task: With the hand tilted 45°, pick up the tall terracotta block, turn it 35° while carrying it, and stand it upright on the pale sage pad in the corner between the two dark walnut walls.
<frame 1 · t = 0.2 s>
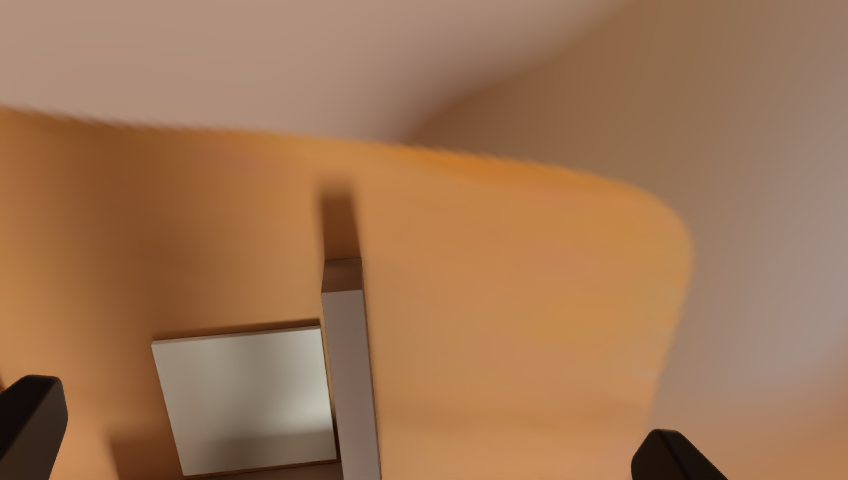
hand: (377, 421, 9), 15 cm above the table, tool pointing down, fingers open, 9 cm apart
corner bracket: (250, 401, 27), on the table
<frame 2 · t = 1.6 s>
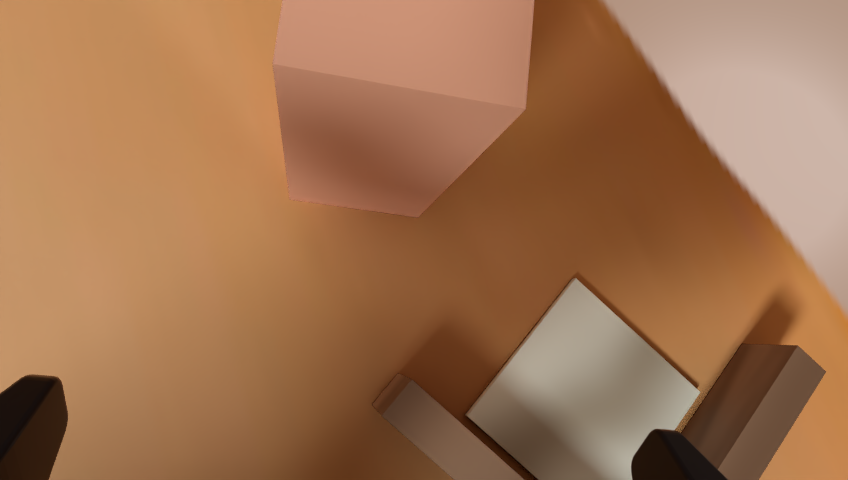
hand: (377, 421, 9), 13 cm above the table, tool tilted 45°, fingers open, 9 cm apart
terracotta block: (362, 147, 24), on the table
corner bracket: (585, 402, 24), on the table
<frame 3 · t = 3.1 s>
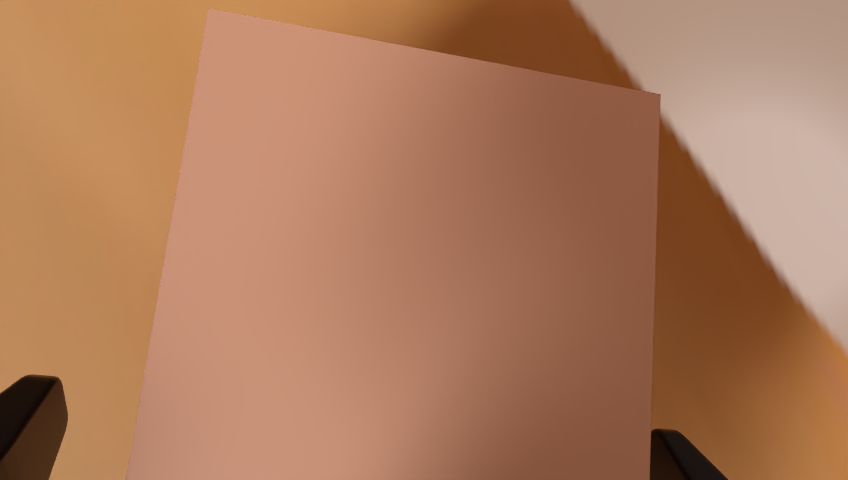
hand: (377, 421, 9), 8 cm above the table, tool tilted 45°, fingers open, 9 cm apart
terracotta block: (343, 319, 18), on the table
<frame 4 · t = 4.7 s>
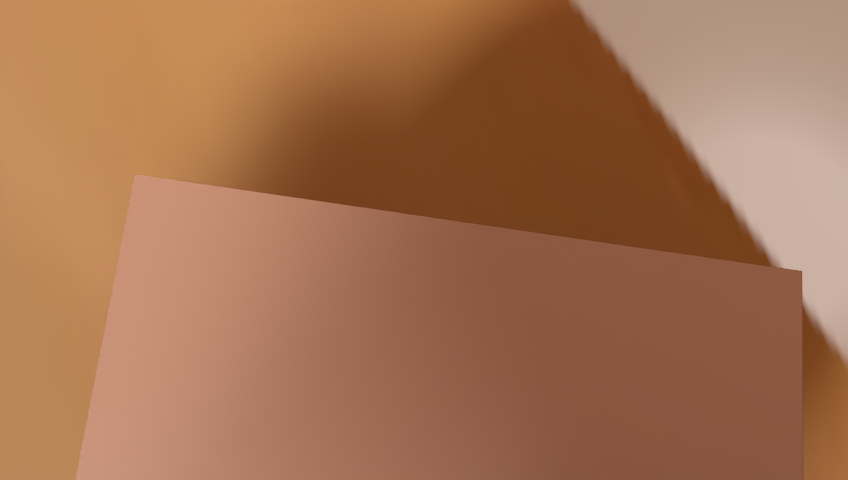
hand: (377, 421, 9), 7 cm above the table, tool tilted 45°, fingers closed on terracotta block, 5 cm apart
terracotta block: (344, 401, 16), on the table, touching gripper
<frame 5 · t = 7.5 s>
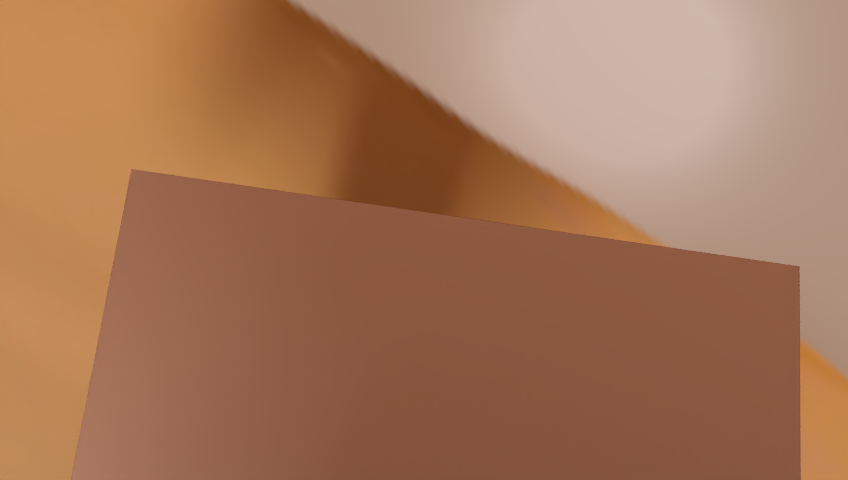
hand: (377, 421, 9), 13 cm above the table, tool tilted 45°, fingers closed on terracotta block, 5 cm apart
terracotta block: (344, 399, 16), point 7 cm above the table, touching gripper
when the fingers open (8 cm above the table, at t = 10.2 s): terracotta block drops 1 cm, resting on corner bracket.
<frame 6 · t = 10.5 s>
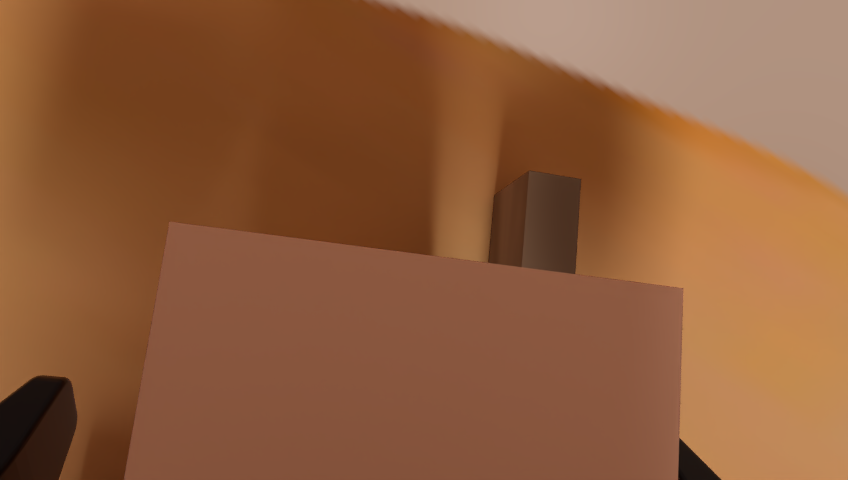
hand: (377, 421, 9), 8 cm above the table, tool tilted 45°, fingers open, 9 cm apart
terracotta block: (338, 396, 17), resting on corner bracket
corner bracket: (342, 393, 17), on the table
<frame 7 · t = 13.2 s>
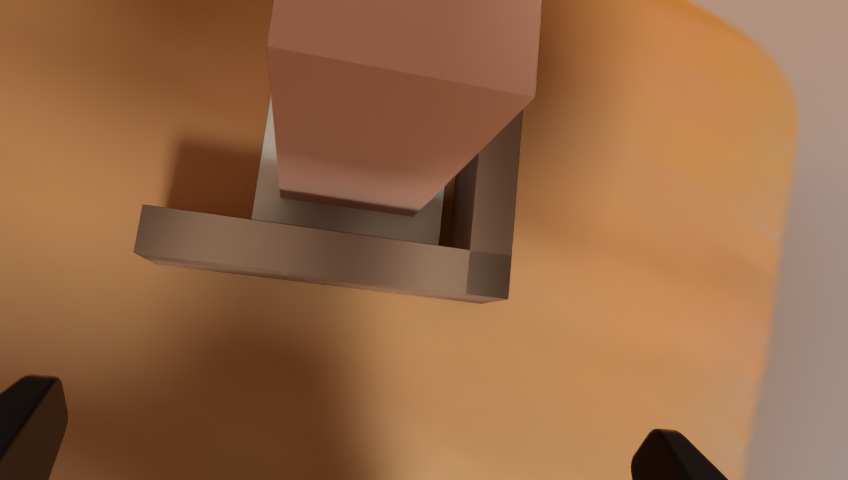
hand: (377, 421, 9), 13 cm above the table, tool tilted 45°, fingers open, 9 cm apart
terracotta block: (356, 144, 23), resting on corner bracket
corner bracket: (358, 145, 23), on the table
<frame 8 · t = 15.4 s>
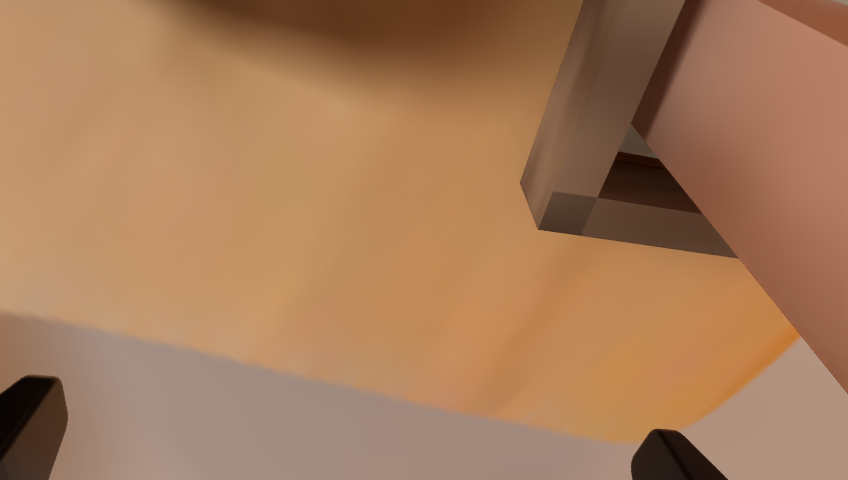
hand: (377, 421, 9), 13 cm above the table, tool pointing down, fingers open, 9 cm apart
terracotta block: (730, 66, 20), resting on corner bracket
corner bracket: (726, 66, 20), on the table
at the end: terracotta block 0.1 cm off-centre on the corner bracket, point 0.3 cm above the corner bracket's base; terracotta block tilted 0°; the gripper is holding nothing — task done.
